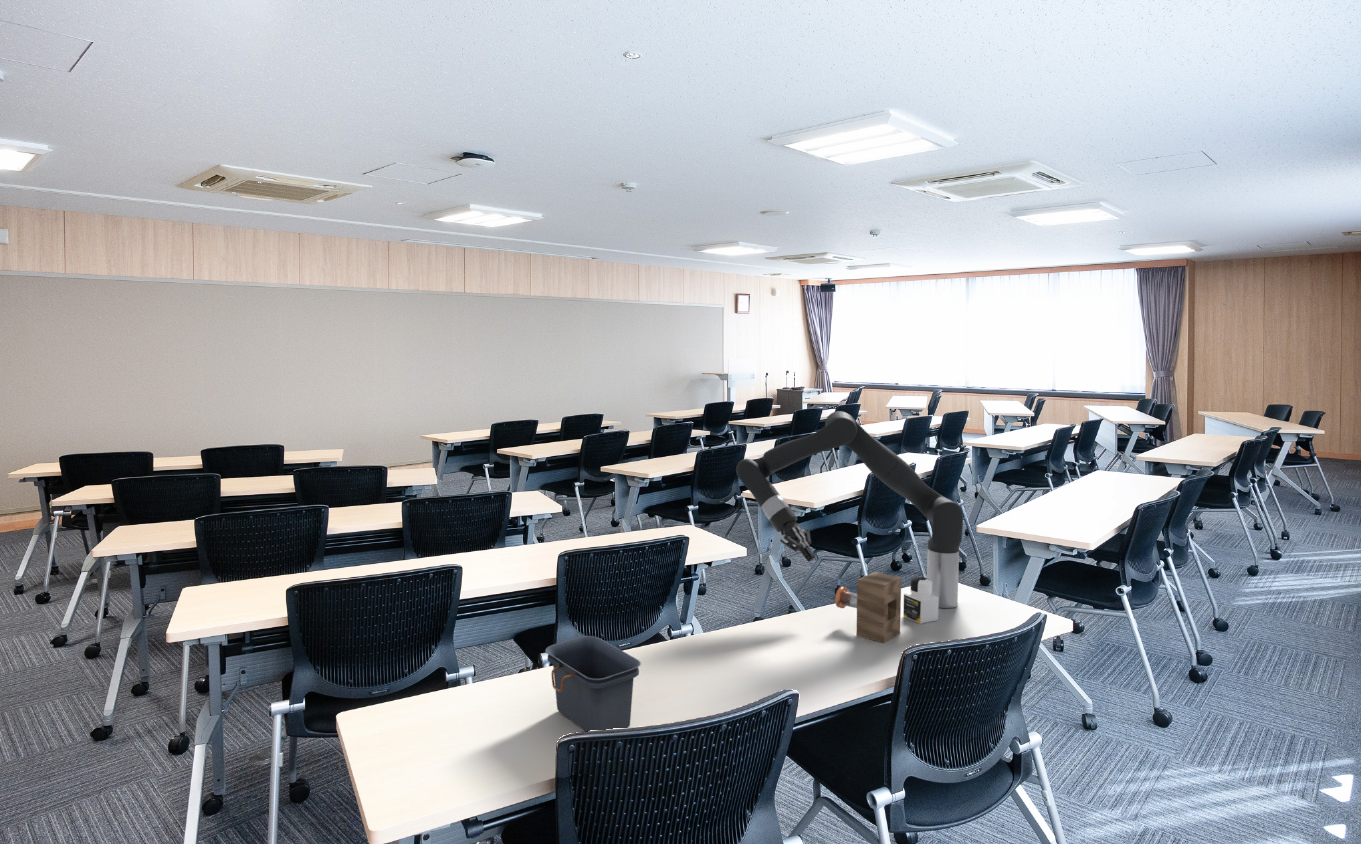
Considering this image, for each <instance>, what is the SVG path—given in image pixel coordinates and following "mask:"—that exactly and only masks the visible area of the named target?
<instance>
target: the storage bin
mask: <svg viewBox="0 0 1361 844" xmlns="http://www.w3.org/2000/svg"><path fill="white" fill-rule="evenodd" d="M545 653H546V654H547V661H548V662H549V663H550V664H551V665H552V667H553V669H552V670H551V673H550V675H551V685H552V688H553V689H554V690H555V699H556V707H557V708H556V709H557V711H559V713H560V714H563V715H564V716H565V717H566V718H568V719H569V720H571V721H572V722H574V724H576V725H577V726H579V727H580V728H582V729H583V730H584V731H585V732H587V731H590V730H606V729H613V728H626V729H627V727H628V728H629V727H630V725H631V719H632V718H631V716H632V706H633V705H632V704H633V703H632V702H633V691H634V690H633V689H634V680H635V679H634V678H637V677H638V676H639V674H640V670H639V667H640V666H641V663H642V662H641V661H640V660H639V659H637V658H635V657H634V656H632V655H630V654H628V653H627V652H626V651H624V650H622V649H620V648H618V647H616V646H614V645H613V644H611V643H609V642H608V641H605V640H603V639H602V638H600V637H598V636H594V635H584V636H580V637H575V638H572V639H569V640H565V641H561V642H558V643H554V644H551V645H549V646H547V647H546V648H545Z"/></svg>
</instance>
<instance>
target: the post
mask: <svg viewBox="0 0 1361 844" xmlns="http://www.w3.org/2000/svg"><path fill="white" fill-rule="evenodd" d="M856 581H857V582H856V583H857V587H856V589H857V592H856V594H857V608H856V635H857V637H859V636H861V637H860V638H863V639H866V638H868V639H867V640H870V641H874V640H875V641H874V642H878V643H881V644H884V643H885V641H886V642H887V641H889V640H890V638H891V639H892V638H894V637H896V636H898V635H899V634H901V614H902V613H901V612H902V611H901V609H902V608H901V607H902V606H901V604H902V603H901V602H902V600H901V599H902V576H897V575H891V574H887V573H882V572H878V571H873V572H872V573H871V572H870V573H869V574H867V575H865V576H862V577H860V578H858V579H856ZM897 634H898V635H897ZM856 635H855V636H856ZM893 636H894V637H893Z"/></svg>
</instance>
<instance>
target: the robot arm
mask: <svg viewBox="0 0 1361 844" xmlns="http://www.w3.org/2000/svg"><path fill="white" fill-rule="evenodd" d="M824 424H825V425H824V426H823V427H821V428H820V429H819V430H818V431H816V432H813V433H812V434H808V435H807V436H804V437H800V438H796V439H792V440H790V441H786V442H784V443H783V442H782V443H781V444H779V445H777V446H775V447H773V448H771V449H769V450H766V451H765V452H764V453H763V456H761V457H760V458H758V459H757V460H753V459H751V458H743V459H741V460H740V461H739V462H737V464H736V466H735V467H736V468H735V471H736V472H735V473H736V475H737V478H738V479H739V480H740V482H741V483H743V485H744V486H745V487H746V489H747V490H748V491H749V492H750V493H751V495H752V496H753V498H754V500H755V501H756V502H757V503H758V505H759V506H760V508H761V510H762V511H763V514H764V515H765V517H766V518H767V520H768V521H769V522H770V524H771V525H772V527H773V529H775V531H776V532H778V533H780V534H781V535H782V537H781V539H780V543H782V544H783V545H785V546H787V547H788V548H789V549H790V550H793V551H794V552H797V551H798V552H799V553H801V554H802V556H803V557H804V558H805V560H806V561H807V562H811V561H813V560H814V559H816V556H815V554H814V553H813V551H812V549H810V545H811V544H812V539H811V533H810V530H809V529H808V528H806V529H804V528H802V526H801V525H800V524H799V523H798V521H797V520H798V517H797V515H796V513H795V512H794V511H793V510H792V508H791V507H790V505H789V504H788V503H787V502H786V500H785V499H784V498H783V497H782V496H781V494H780V493H779V492H778V490H777V489H776V488H775V486H774V484H773V483H771V482H770V481H769V480H768V479H767V478H768V477H770V476H771V475H773V474H774V473H776V472H778V471H780V470H782V469H785V468H786V467H788V466H791V465H793V464H795V463H797V462H799V461H801V460H804V459H806V458H808V457H811V456H813V455H816V454H819V453H823V452H825V451H828V450H832V449H834V448H835V449H836V448H839V447H843V446H845V447H846V448H848V449H850V450H851V451H852V452H853V453H854V454H855V455H856V456H857V457H858V458H859V459H860V461H861V462H862V463H863V464H864V465H865V466H866V468H868V470H869V471H870V473H872V474H873V475H874V476H875V477H876V478H877V480H879V481H881V482H882V483H883V484H884V485H886V486H887V487H888V488H889V489H890V490H892V491H894V492H895V493H897V494H898V495H900V496H901V497H903V498H904V499H906V500H907V501H909V502H910V503H912V504H913V506H914V507H916V509H918V510H919V512H921V513H922V515H923V516H924V517H925V518H926V519H927V520H928V521H929V522H930V523H931V524H932V527H931V528H932V529H931V530H932V531H931V538H929V539H928V540H927V557H926V558H927V564H926V567H927V569H926V578H927V579H929V580H931V581H932V595H935V596H937V597H939V602H938V609H939V608H940V609H952V608H956V607H958V602H959V601H958V600H959V599H958V598H959V597H958V596H959V570H960V569H959V567H960V566H959V565H960V564H959V563H960V560H959V559H960V545H961V543H962V540H963V526H964V515H963V514H964V513H963V510H962V508H961V506H960V505H959V504H958V503H956V502H955V501H953V500H951V499H949V498H947V497H945V496H943V495H942V494H940V493H938V492H937V491H936V490H934V489H933V488H931V487H930V486H929V485H928V484H926V483H925V482H924V481H923V479H921V477H920V476H919V475H918V473H917V472H916V471H915V470H914V469H913V468H912V467H911V465H909V464H908V463H907V462H906V461H905V460H903V458H901V457H900V456H899V455H897V454H896V453H895V452H893V450H891V449H889V447H887V446H886V445H884V444H883V443H882V442H880V441H879V440H877V439H876V438H875V437H873V436H872V435H870V434H869V433H868V432H867V431H866V430H865V429H864V427H862V426H861V425H860V424H859V423H858V422H857V421H856V420H855V418H854V417H853V415H851V414H849V413H847V412H845V411H841V410H840V411H839V410H838V411H833V412H831V413H830V414H828V416H827V417H826V419H825V423H824Z"/></svg>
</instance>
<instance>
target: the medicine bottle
mask: <svg viewBox="0 0 1361 844" xmlns="http://www.w3.org/2000/svg"><path fill="white" fill-rule="evenodd" d="M938 602H939V597H937V596H935V595H932V581H931V580H929V579H927V577H924V576H923V577H922V576H918V577H917V576H916V577H913V578H911V579H910V592H906V593H904V594H903V612H902V613H903V617H904V618H906V619H907V620H908V619H909V620H911V621H913V622H915V623H917V624H921V625H922V624H926V623H931V622H937V621H938V620H939V607H938Z"/></svg>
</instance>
